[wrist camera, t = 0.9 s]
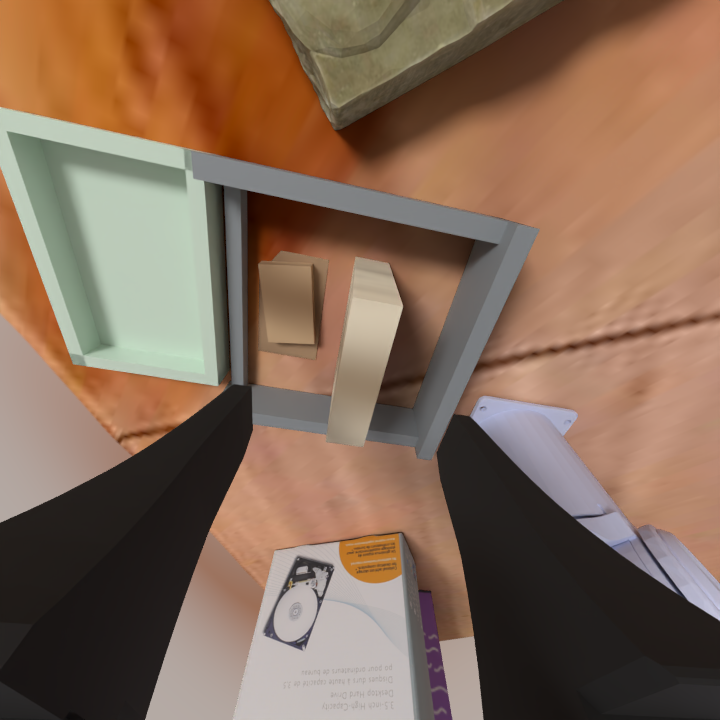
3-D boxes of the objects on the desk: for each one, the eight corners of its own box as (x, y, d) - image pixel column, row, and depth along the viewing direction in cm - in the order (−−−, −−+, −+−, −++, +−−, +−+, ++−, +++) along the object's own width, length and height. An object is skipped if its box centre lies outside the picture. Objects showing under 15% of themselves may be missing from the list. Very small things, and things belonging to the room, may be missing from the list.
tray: (229, 369, 21) (218, 386, 20) (97, 348, 21) (73, 364, 19) (220, 155, 15) (201, 152, 13) (23, 111, 14) (-23, 102, 12)
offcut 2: (317, 354, 22) (315, 360, 21) (261, 344, 21) (258, 350, 21) (330, 257, 18) (328, 259, 17) (263, 243, 18) (259, 246, 17)
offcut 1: (315, 338, 20) (314, 344, 19) (271, 336, 20) (268, 342, 19) (312, 263, 18) (310, 266, 17) (262, 260, 18) (258, 264, 17)
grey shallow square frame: (421, 420, 24) (431, 460, 20) (230, 391, 22) (207, 429, 19) (502, 218, 16) (539, 229, 13) (220, 155, 15) (178, 148, 11)
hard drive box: (402, 528, 32) (447, 921, 15) (415, 562, 36) (464, 906, 19) (271, 548, 35) (183, 908, 18) (297, 578, 38) (245, 897, 21)
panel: (362, 373, 22) (363, 447, 16) (335, 368, 21) (325, 441, 15) (388, 263, 18) (403, 306, 12) (355, 256, 17) (352, 297, 11)
